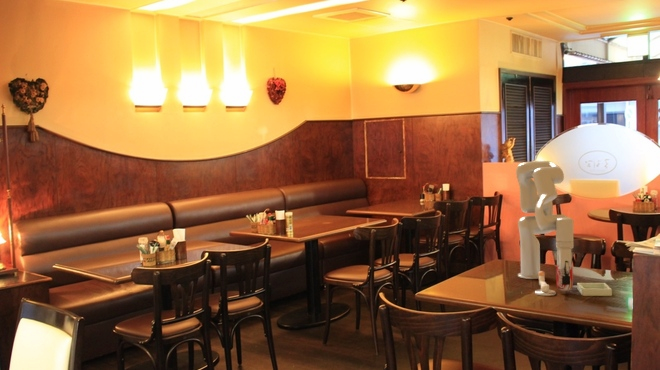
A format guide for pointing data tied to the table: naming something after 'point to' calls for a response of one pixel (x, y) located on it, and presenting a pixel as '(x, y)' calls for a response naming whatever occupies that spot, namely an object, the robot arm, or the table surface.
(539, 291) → the crank base
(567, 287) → the soda can
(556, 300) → the table surface
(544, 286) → the crank
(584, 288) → the tray
